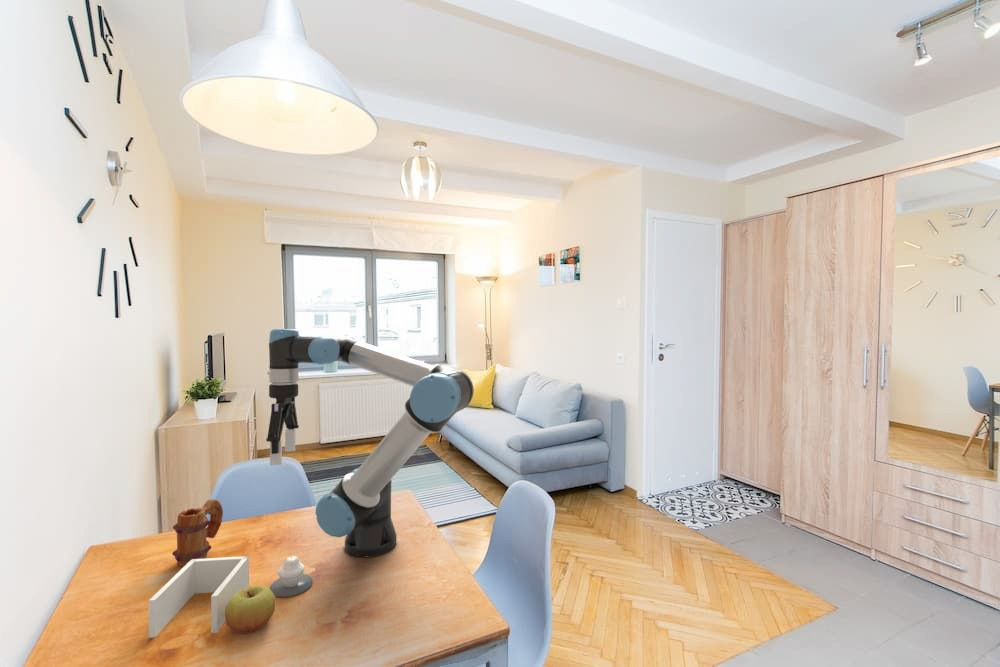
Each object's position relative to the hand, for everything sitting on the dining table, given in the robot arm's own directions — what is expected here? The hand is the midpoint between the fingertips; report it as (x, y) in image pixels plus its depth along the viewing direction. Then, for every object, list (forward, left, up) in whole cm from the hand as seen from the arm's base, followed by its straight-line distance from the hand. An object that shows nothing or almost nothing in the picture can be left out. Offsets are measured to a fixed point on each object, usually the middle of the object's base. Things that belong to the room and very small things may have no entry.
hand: (283, 457), depth 130 cm
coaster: (-7, +15, -29) cm, 33 cm away
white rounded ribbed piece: (-7, +15, -28) cm, 33 cm away
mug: (+23, -3, -29) cm, 37 cm away
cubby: (+10, +23, -29) cm, 38 cm away
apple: (-3, +30, -29) cm, 42 cm away
